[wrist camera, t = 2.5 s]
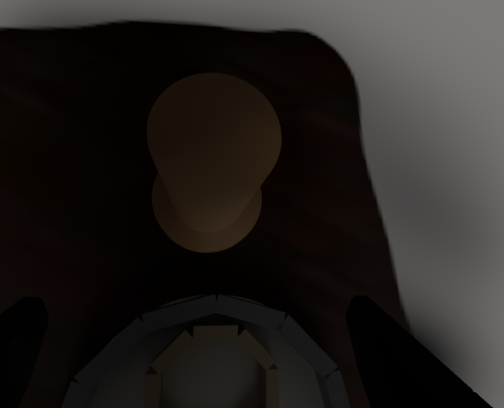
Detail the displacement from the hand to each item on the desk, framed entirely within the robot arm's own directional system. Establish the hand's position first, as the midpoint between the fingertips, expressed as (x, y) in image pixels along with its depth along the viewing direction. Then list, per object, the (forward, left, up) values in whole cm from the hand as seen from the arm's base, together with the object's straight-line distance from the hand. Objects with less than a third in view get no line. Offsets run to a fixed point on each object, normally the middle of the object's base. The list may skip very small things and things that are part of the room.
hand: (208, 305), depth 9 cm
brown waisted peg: (+4, +3, -11) cm, 13 cm away
